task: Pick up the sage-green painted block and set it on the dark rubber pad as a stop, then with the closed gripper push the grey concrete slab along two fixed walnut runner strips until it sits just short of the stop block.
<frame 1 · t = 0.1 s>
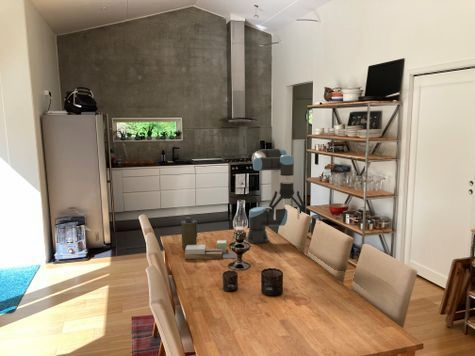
hand: (286, 219, 218), 28 cm above the table, fingers open, 13 cm apart
slab: (195, 251, 240), point 3 cm above the table, touching runners
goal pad: (229, 255, 241), on the table
stop block: (221, 250, 251), on the table
canister: (189, 246, 260), on the table
runners: (203, 256, 241), on the table
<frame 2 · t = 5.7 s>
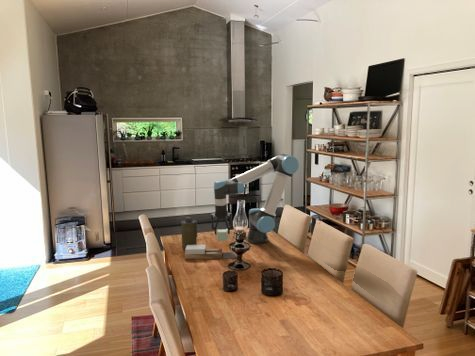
hand: (222, 238, 250), 8 cm above the table, fingers closed on stop block, 6 cm apart
stop block: (222, 239, 250), point 7 cm above the table, touching gripper
everything else where it was.
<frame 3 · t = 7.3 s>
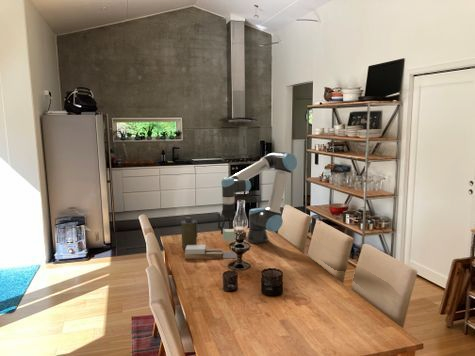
hand: (228, 239, 239), 11 cm above the table, fingers closed on stop block, 6 cm apart
stop block: (228, 239, 239), point 10 cm above the table, touching gripper
everything else where it was.
when the fingers open (1 cm above the table, at t = 8.9 s): stop block stays where it is, resting on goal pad.
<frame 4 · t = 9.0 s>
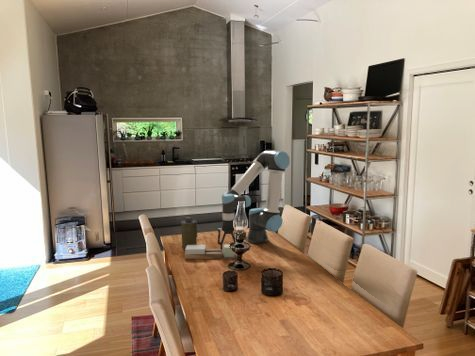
hand: (228, 254, 241), 1 cm above the table, fingers open, 6 cm apart
stop block: (229, 255, 241), resting on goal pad, touching gripper
everything else where it was.
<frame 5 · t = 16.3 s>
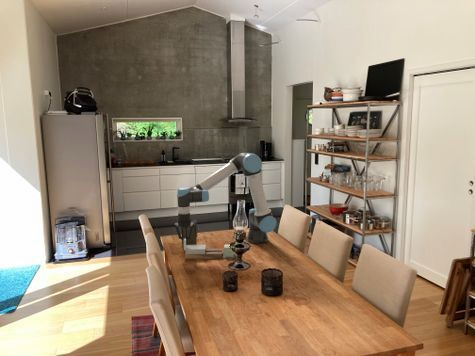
hand: (185, 249, 240), 5 cm above the table, fingers closed
slab: (196, 251, 240), point 3 cm above the table, touching gripper
stop block: (229, 255, 241), resting on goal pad
everything else where it was.
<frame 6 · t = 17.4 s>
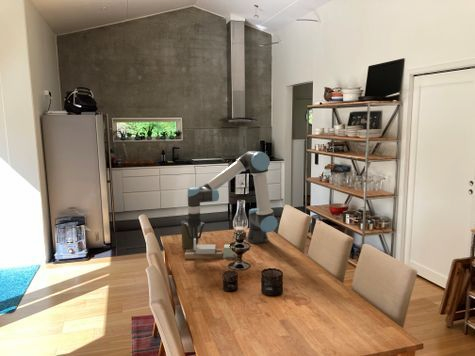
hand: (195, 249, 240), 5 cm above the table, fingers closed
slab: (205, 251, 240), point 3 cm above the table, touching gripper
everything else where it was.
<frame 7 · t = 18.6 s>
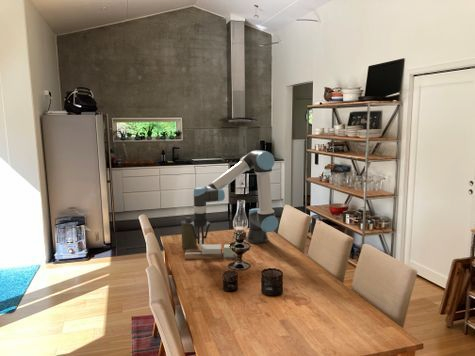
hand: (201, 248, 240), 5 cm above the table, fingers closed
slab: (211, 251, 240), point 3 cm above the table, touching gripper, runners
everything else where it was.
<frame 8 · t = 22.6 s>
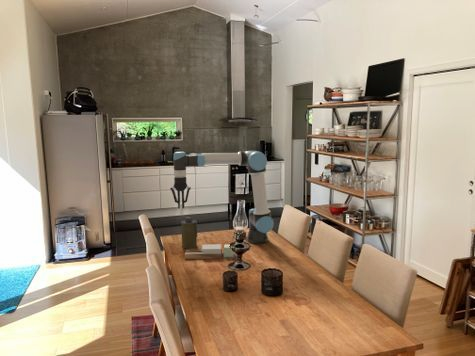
hand: (181, 213, 242), 26 cm above the table, fingers closed
slab: (211, 251, 240), point 3 cm above the table, touching runners
everything else where it was.
at the end: slab 0.6 cm from the target spot on the stop block, point 2.7 cm above the stop block's base; slab tilted 0°; stop block inside the target area (0.1 cm from its centre), resting on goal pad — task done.
